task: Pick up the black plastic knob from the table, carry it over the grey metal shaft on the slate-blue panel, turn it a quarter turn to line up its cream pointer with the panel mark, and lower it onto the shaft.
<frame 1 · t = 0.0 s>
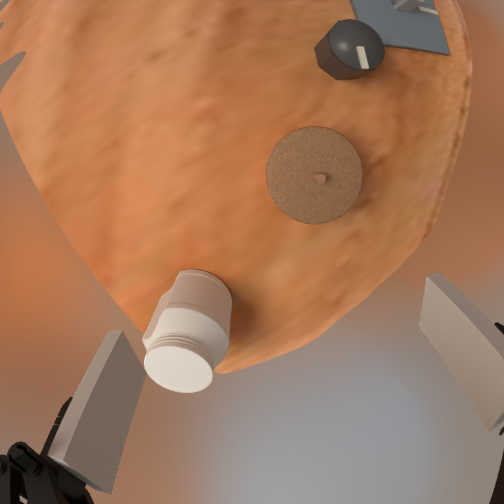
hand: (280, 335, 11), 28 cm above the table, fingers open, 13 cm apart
shaft plate: (395, 5, 24), on the table
knob: (340, 56, 29), on the table
jar: (195, 300, 43), on the table
lidded jar: (302, 167, 35), on the table
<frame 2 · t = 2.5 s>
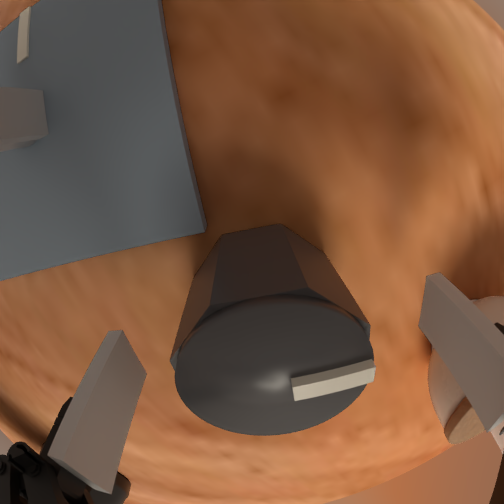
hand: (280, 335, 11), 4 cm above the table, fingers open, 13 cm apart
shaft plate: (39, 122, 10), on the table
knob: (263, 290, 15), on the table
jar: (501, 388, 24), on the table
lidded jar: (458, 329, 17), on the table
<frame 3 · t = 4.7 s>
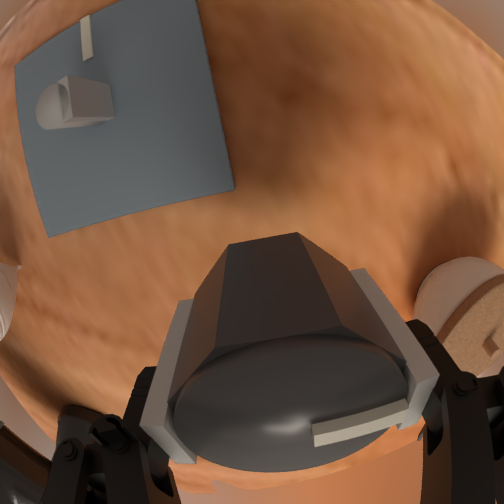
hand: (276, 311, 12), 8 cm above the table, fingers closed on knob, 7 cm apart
shaft plate: (102, 108, 16), on the table
knob: (275, 306, 13), point 8 cm above the table, touching gripper
jar: (493, 364, 28), on the table
spinning top: (22, 264, 21), on the table
lidded jar: (440, 289, 22), on the table
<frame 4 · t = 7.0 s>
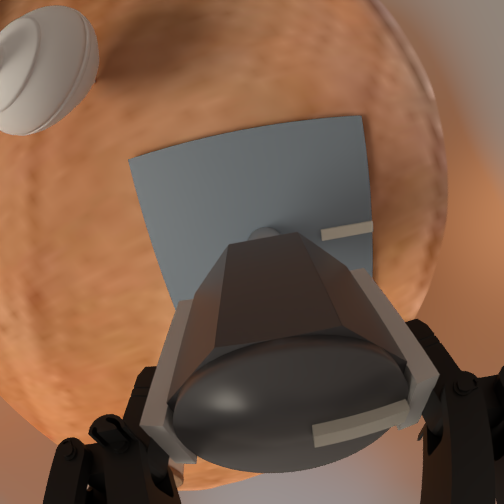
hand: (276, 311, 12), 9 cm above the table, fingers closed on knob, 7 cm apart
shaft plate: (264, 239, 21), on the table
knob: (275, 306, 13), point 9 cm above the table, touching gripper
spinning top: (95, 82, 15), on the table
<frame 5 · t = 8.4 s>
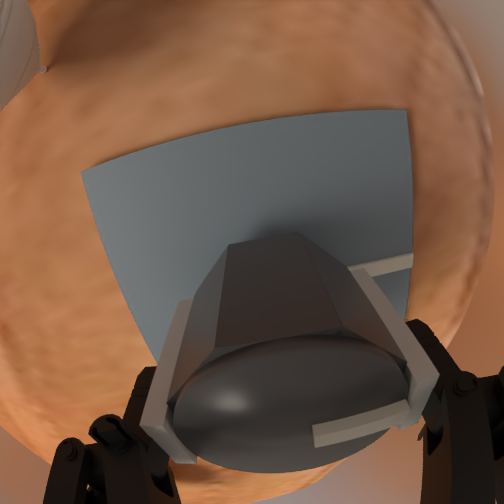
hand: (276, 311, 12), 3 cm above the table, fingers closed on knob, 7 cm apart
shaft plate: (269, 278, 15), on the table
knob: (275, 307, 13), point 3 cm above the table, touching gripper
spinning top: (47, 70, 10), on the table
when the fingers open (2 cm above the table, at t = 9.6 s): knob drops 1 cm, resting on shaft plate.
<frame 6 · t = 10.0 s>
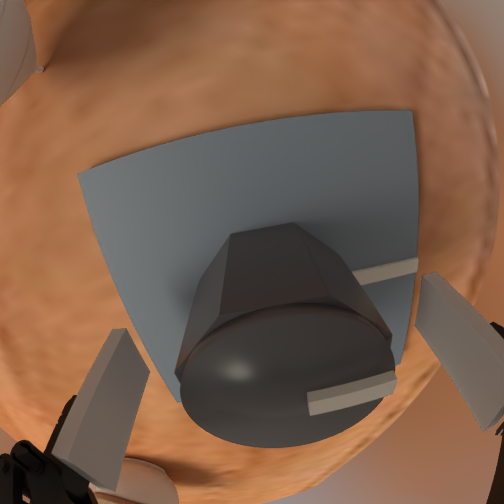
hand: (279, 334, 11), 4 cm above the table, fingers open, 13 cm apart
shaft plate: (271, 283, 15), on the table
knob: (273, 292, 14), point 1 cm above the table, touching shaft plate
spinning top: (44, 70, 10), on the table
lidded jar: (143, 466, 26), on the table
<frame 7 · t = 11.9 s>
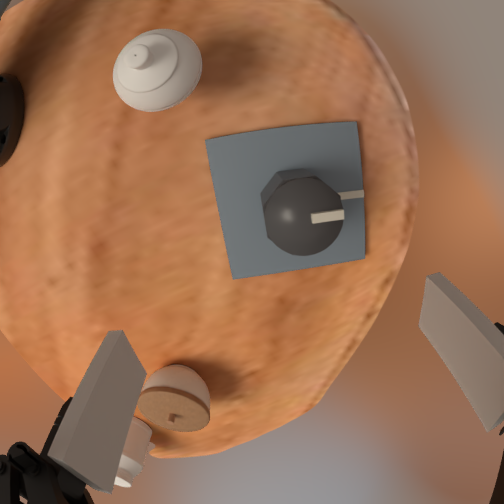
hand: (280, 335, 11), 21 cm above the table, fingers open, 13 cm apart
shaft plate: (292, 200, 30), on the table
knob: (293, 201, 29), point 1 cm above the table, touching shaft plate
jar: (128, 424, 49), on the table
spinning top: (178, 84, 25), on the table
lidded jar: (181, 376, 41), on the table
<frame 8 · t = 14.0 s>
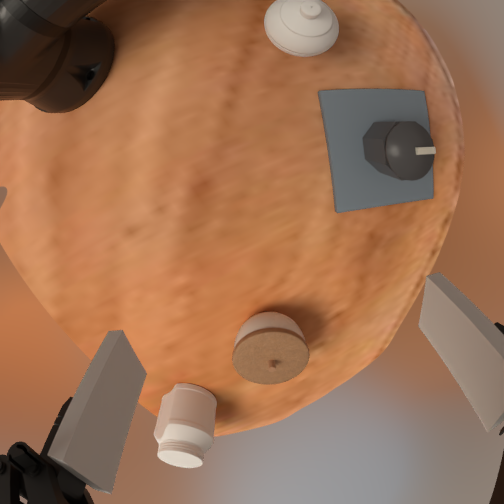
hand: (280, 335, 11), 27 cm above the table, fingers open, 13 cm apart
shaft plate: (382, 146, 33), on the table
knob: (386, 146, 32), point 1 cm above the table, touching shaft plate
jar: (189, 398, 52), on the table
spinning top: (291, 44, 28), on the table
lidded jar: (267, 326, 44), on the table
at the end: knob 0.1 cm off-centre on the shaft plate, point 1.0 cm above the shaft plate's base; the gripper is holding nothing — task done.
